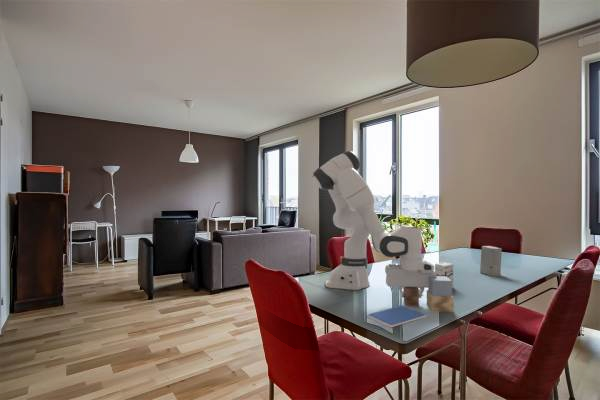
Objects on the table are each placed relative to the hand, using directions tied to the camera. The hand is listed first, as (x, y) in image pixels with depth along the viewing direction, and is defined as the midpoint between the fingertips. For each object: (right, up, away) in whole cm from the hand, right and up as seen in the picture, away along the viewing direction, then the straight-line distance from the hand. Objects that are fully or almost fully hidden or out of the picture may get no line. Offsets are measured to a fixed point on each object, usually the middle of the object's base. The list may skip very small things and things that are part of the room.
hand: (411, 297), depth 127 cm
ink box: (+25, -3, +23) cm, 34 cm away
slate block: (+9, +3, -5) cm, 11 cm away
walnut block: (0, -3, 0) cm, 3 cm away
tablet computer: (-10, -4, -14) cm, 18 cm away
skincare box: (+64, -2, +48) cm, 80 cm away
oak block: (+9, -3, -5) cm, 11 cm away
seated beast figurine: (+7, -3, +17) cm, 19 cm away
